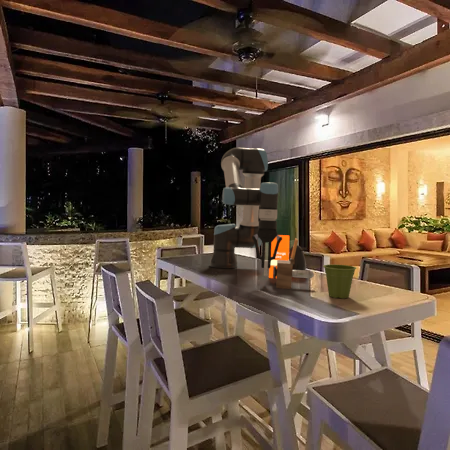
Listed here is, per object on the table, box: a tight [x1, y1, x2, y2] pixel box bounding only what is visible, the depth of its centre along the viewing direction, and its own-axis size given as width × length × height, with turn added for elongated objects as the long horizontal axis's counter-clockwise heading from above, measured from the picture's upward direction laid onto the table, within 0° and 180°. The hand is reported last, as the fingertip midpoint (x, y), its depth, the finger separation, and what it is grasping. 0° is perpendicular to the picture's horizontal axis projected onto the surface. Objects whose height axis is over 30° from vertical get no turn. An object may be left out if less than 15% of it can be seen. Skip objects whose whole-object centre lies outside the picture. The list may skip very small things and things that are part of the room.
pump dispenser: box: [289, 244, 307, 271], centre depth 174 cm, size 10×10×15 cm
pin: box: [272, 266, 315, 280], centre depth 149 cm, size 5×17×5 cm, turn 82°
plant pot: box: [322, 263, 357, 299], centre depth 134 cm, size 12×12×11 cm
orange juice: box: [268, 234, 290, 279], centre depth 170 cm, size 8×9×20 cm
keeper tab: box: [290, 237, 299, 259], centre depth 148 cm, size 8×10×1 cm
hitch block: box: [275, 256, 295, 290], centre depth 149 cm, size 10×7×12 cm, turn 172°
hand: (265, 275), depth 151 cm, fingers closed
